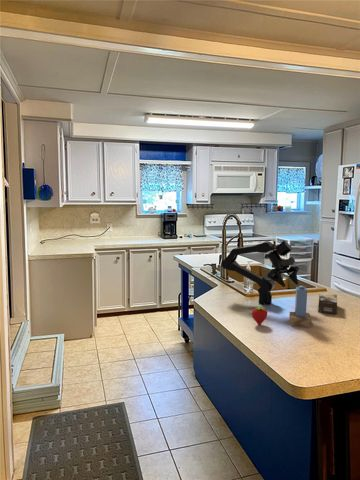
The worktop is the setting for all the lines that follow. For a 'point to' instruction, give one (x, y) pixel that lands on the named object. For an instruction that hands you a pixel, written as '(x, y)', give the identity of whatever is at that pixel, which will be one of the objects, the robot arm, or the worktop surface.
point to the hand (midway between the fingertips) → (291, 285)
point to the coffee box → (327, 303)
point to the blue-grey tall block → (301, 301)
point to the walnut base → (300, 320)
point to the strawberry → (259, 315)
